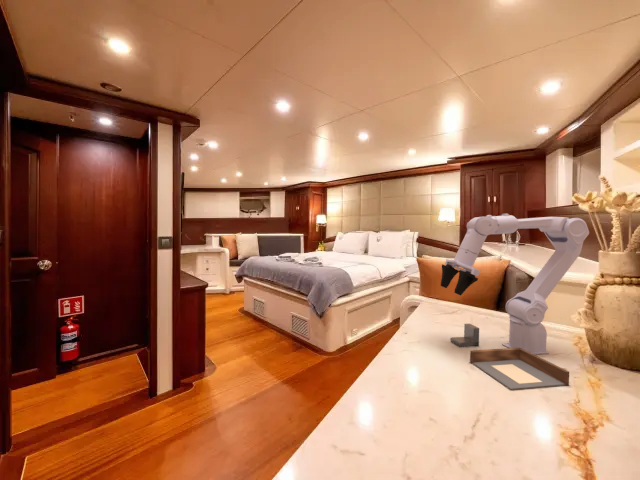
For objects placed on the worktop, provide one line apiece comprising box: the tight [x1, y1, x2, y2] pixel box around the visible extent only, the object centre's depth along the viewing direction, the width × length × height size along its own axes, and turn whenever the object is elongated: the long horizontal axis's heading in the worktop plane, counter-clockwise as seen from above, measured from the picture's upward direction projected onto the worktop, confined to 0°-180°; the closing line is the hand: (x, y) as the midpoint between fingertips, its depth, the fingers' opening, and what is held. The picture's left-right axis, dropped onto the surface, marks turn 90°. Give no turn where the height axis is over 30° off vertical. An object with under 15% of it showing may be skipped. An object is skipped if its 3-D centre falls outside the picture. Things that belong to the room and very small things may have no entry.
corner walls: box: [469, 347, 570, 387], centre depth 73 cm, size 16×14×3 cm
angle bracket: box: [450, 323, 480, 348], centre depth 92 cm, size 7×4×6 cm, turn 99°
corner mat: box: [469, 359, 570, 391], centre depth 73 cm, size 16×14×1 cm
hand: (450, 290), depth 89 cm, fingers open, 7 cm apart
